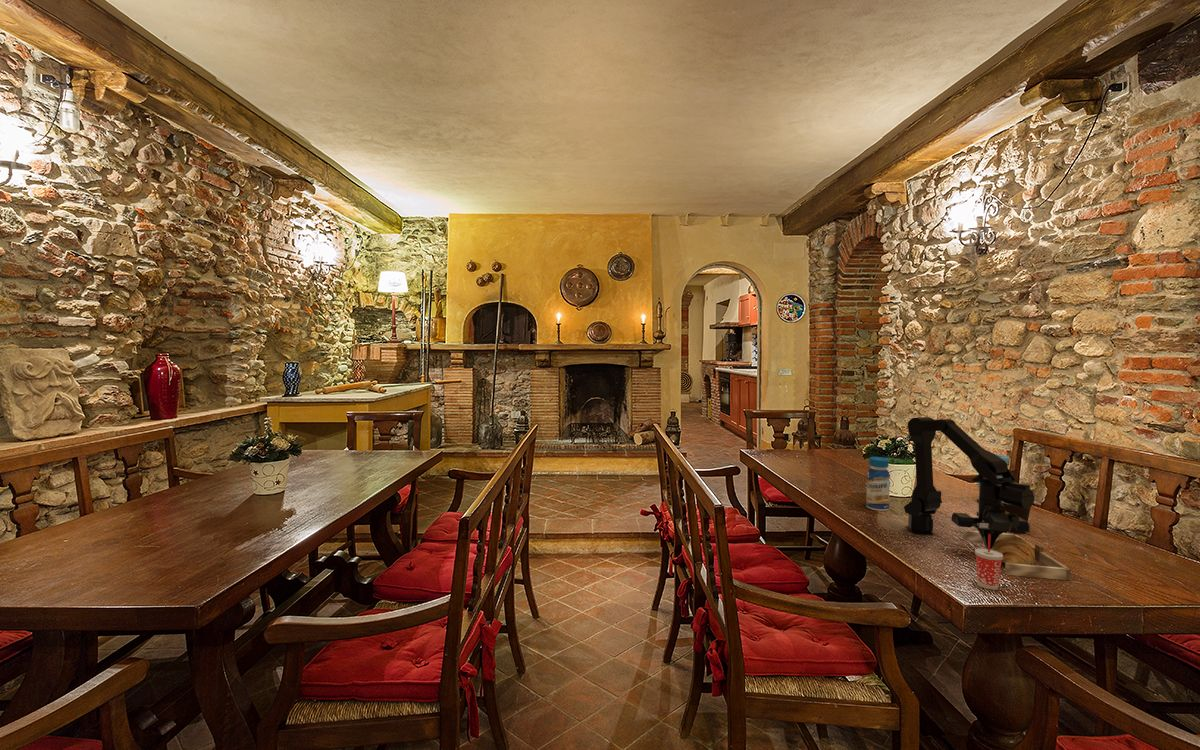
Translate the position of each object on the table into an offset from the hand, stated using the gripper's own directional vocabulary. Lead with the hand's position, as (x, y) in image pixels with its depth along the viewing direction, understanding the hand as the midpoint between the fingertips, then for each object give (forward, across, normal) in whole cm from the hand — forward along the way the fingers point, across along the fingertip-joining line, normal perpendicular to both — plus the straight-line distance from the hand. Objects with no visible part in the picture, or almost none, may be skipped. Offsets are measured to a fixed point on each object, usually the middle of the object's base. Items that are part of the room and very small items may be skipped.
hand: (988, 549), depth 160 cm
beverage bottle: (+2, -20, +44) cm, 48 cm away
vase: (+2, +27, +61) cm, 67 cm away
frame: (+2, +6, 0) cm, 7 cm away
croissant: (+2, +6, -1) cm, 6 cm away
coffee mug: (+2, +19, +29) cm, 35 cm away
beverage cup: (+2, -10, -23) cm, 25 cm away
